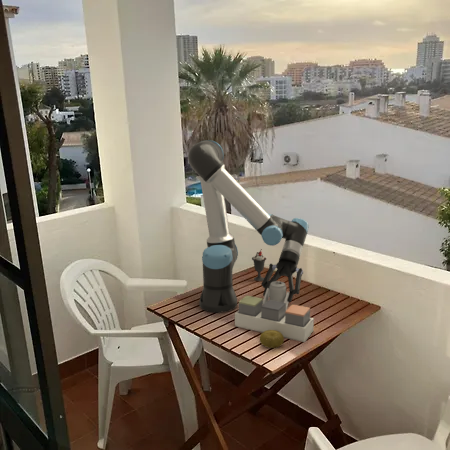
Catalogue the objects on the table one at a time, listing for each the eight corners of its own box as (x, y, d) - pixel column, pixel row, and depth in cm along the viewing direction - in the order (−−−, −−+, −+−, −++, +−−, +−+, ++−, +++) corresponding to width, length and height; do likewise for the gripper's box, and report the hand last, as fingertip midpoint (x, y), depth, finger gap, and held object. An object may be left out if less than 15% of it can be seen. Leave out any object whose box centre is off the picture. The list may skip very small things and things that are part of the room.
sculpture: (272, 341, 149) (254, 333, 155) (272, 352, 150) (254, 344, 156) (288, 333, 154) (271, 325, 160) (288, 344, 155) (271, 336, 161)
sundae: (262, 282, 210) (262, 250, 207) (249, 280, 214) (249, 248, 210) (269, 278, 216) (269, 247, 212) (256, 275, 219) (256, 245, 215)
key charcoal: (261, 322, 164) (261, 306, 162) (268, 315, 169) (269, 299, 168) (278, 326, 161) (278, 309, 159) (285, 318, 166) (285, 303, 165)
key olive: (238, 317, 168) (238, 301, 167) (246, 310, 174) (246, 295, 172) (254, 320, 165) (254, 305, 164) (262, 313, 171) (262, 298, 169)
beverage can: (288, 311, 180) (288, 281, 177) (282, 317, 175) (283, 287, 172) (272, 308, 183) (272, 279, 180) (266, 314, 177) (267, 285, 174)
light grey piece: (234, 326, 168) (234, 313, 167) (246, 316, 176) (245, 304, 175) (304, 342, 156) (304, 328, 155) (313, 331, 163) (313, 318, 162)
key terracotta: (285, 327, 160) (285, 311, 158) (292, 320, 165) (292, 304, 164) (303, 331, 156) (303, 315, 155) (309, 323, 162) (310, 307, 160)
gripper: (317, 262, 183) (302, 316, 173) (269, 255, 192) (252, 305, 183) (313, 253, 177) (297, 308, 167) (264, 246, 187) (246, 298, 177)
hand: (274, 306), depth 175 cm, fingers open, 8 cm apart
